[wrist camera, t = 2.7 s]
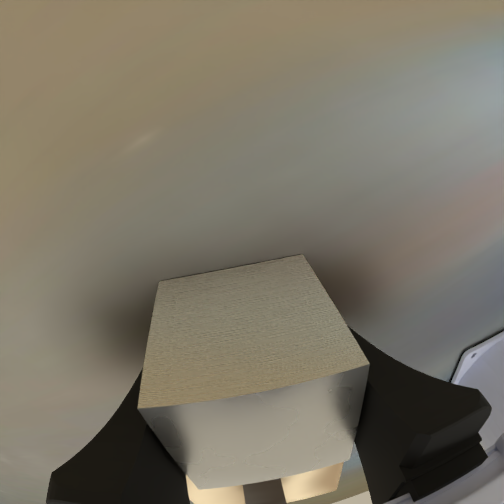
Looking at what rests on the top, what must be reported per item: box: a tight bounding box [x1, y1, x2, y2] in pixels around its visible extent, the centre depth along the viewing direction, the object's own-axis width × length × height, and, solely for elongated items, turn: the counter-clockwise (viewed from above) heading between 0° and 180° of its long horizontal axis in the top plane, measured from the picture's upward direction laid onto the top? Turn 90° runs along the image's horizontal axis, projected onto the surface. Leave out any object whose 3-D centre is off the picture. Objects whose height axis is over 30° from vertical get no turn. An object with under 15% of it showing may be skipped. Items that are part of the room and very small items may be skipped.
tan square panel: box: [186, 462, 343, 504], centre depth 17 cm, size 12×14×6 cm
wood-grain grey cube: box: [137, 254, 370, 490], centre depth 11 cm, size 6×6×6 cm
